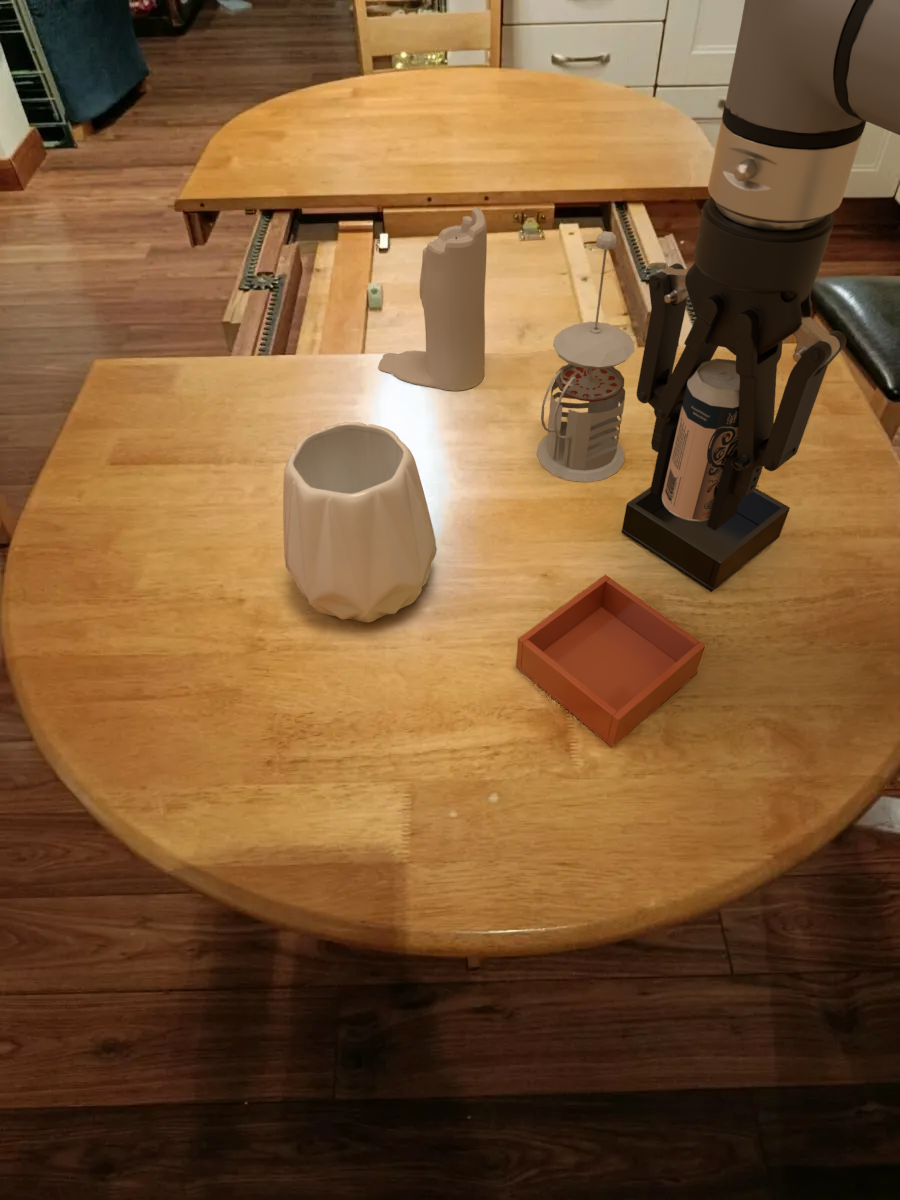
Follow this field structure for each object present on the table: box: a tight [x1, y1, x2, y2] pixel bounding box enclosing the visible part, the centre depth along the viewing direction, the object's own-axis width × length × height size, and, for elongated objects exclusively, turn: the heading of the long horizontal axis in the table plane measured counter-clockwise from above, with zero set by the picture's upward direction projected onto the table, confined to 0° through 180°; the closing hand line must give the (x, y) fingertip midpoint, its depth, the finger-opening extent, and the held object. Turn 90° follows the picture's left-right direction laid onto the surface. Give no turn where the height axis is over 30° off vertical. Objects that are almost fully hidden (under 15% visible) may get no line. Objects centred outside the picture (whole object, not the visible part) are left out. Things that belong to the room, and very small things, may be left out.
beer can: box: [662, 358, 740, 521], centre depth 63 cm, size 5×5×12 cm
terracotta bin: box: [515, 574, 706, 748], centre depth 73 cm, size 11×11×4 cm
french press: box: [536, 230, 635, 483], centre depth 85 cm, size 10×12×25 cm
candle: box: [377, 206, 488, 392], centre depth 99 cm, size 7×14×20 cm, turn 72°
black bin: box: [621, 486, 791, 593], centre depth 84 cm, size 11×11×4 cm
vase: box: [282, 421, 438, 623], centre depth 77 cm, size 14×14×15 cm
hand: (692, 502), depth 67 cm, fingers closed on beer can, 5 cm apart
